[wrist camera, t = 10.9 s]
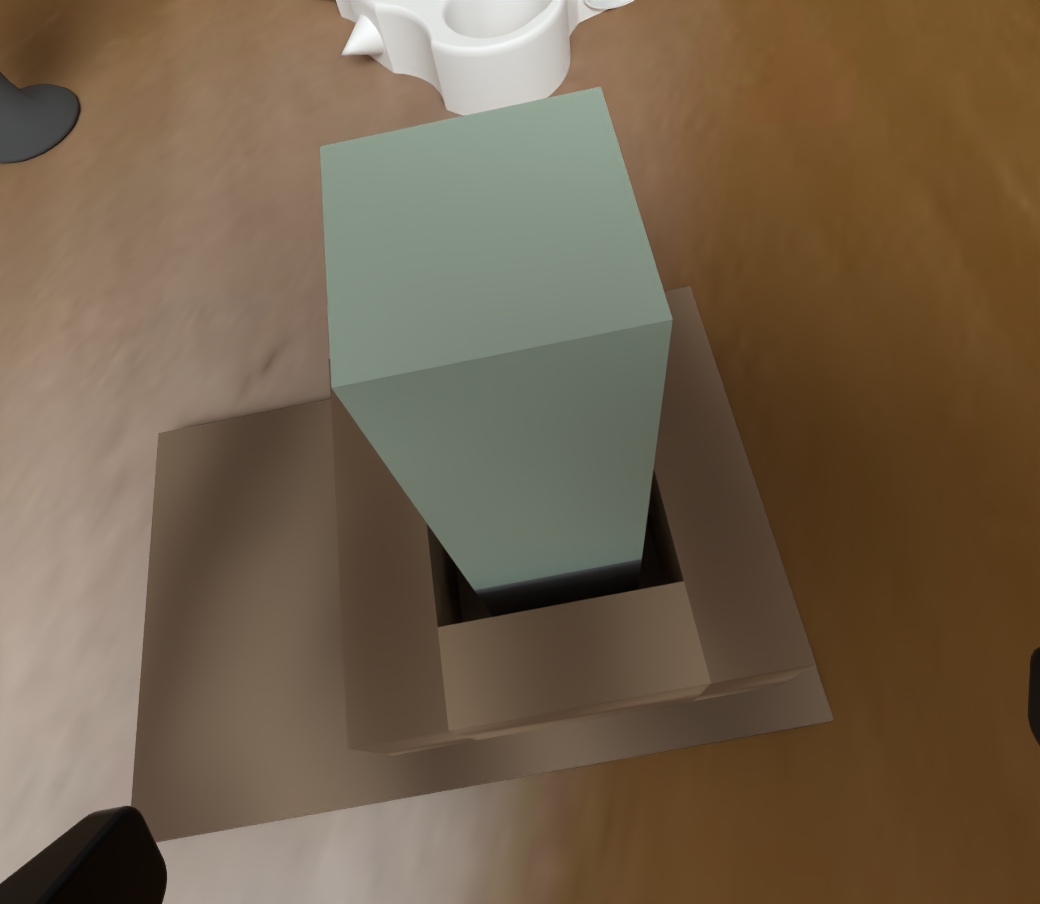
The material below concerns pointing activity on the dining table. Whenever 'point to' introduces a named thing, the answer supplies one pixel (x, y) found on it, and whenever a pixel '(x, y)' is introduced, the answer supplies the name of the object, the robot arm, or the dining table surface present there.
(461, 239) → the sage green square pillar
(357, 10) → the white brass knuckles
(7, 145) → the sundae
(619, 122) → the dining table surface
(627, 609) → the wooden socket base
